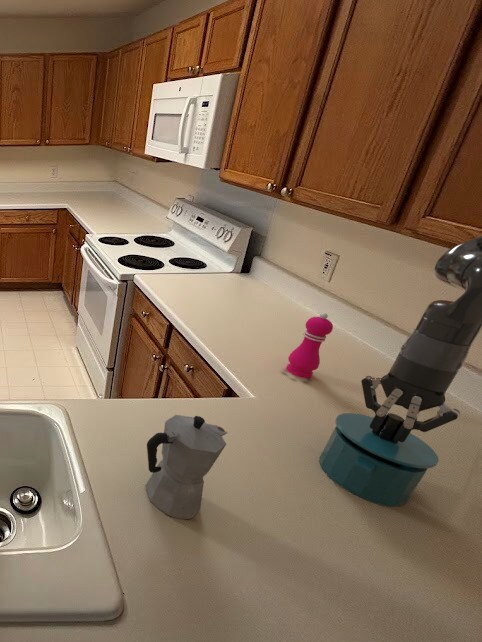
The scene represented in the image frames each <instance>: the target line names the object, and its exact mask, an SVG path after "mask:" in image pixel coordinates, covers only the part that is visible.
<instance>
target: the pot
mask: <svg viewBox="0 0 482 642" xmlns="http://www.w3.org/2000/svg"><path fill="white" fill-rule="evenodd" d="M319 465H320V467H321V469H322V470H323V472H324V473H325V474H326V475H327V476H328V477H329V478H330V479H331V480H332V481H333V482H334V483H336V484H337V485H338V486H339V487H341V488H343V489H344V490H346V491H347V492H350V493H351V494H353V495H354V496H357V497H358V498H361V499H363V500H366V501H368V502H370V503H374V504H377V505H381V506H385V507H391V508H393V507H394V508H395V507H401V506H404V505H405V504H407V502H408V501H409V499H410V497H411V496H412V494H413V493H414V491H415V489H416V488H417V486H418V485H419V483H420V482H421V480H422V479H423V478H424V476H425V474H426V472H427V471H428V469H429V468H414V467H409V466H405V465H401V464H398V463H395V462H392V461H389V460H387V459H384V458H382V457H380V456H377V455H375V454H373V453H371V452H369V451H367V450H365V449H364V448H362V447H360V446H359V445H357V444H355V443H354V442H352V441H351V440H350V439H348V438H347V437H346V436H345V435H344V434H343V433H342V432H341V431H340V430H339V429H338V428H337V426H336V425H335V427H334V429H333V430H332V432H331V434H330V436H329V439H328V440H327V442H326V444H325V446H324V448H323V450H322V451H321V454H320V456H319Z"/></svg>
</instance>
